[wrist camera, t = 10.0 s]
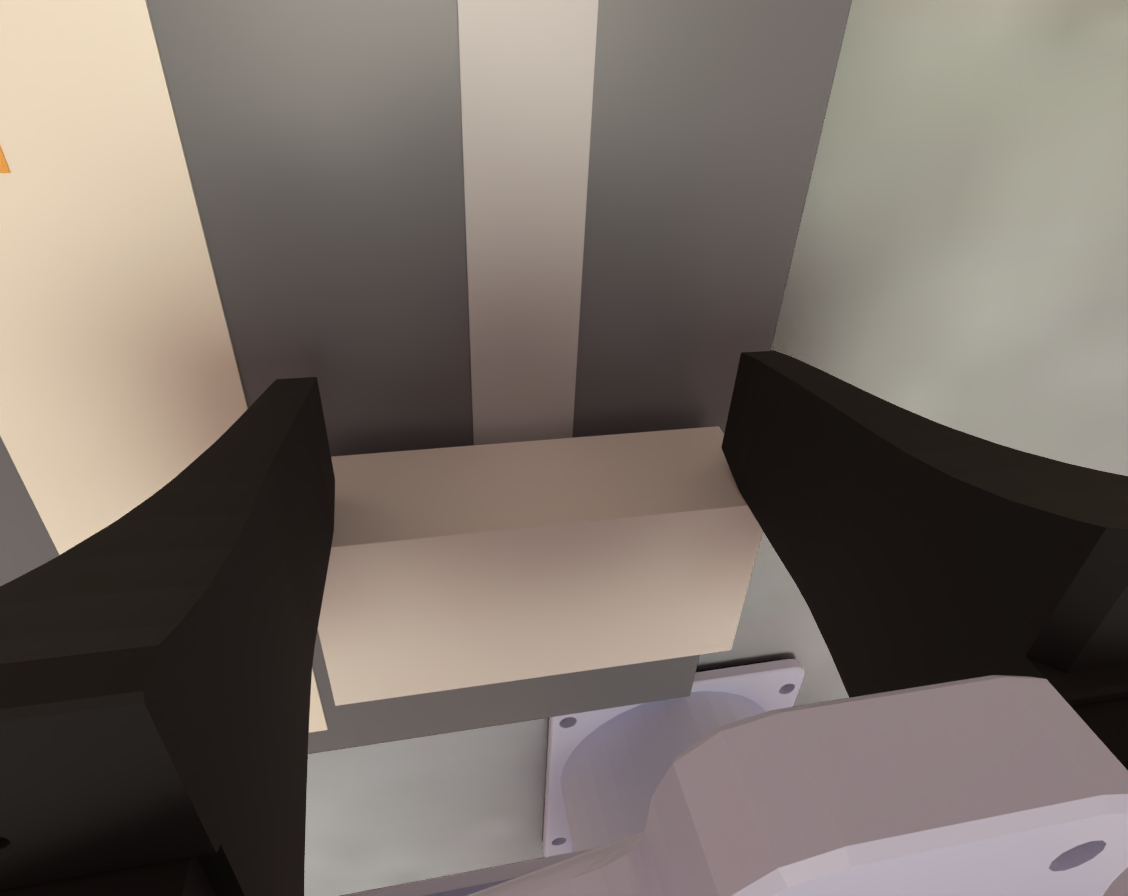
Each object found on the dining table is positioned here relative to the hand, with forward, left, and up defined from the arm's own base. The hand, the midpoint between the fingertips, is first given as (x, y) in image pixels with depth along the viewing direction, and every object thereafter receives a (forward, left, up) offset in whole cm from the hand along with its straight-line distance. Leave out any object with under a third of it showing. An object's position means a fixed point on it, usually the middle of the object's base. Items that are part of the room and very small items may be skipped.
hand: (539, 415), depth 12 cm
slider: (-3, 0, -1) cm, 4 cm away
